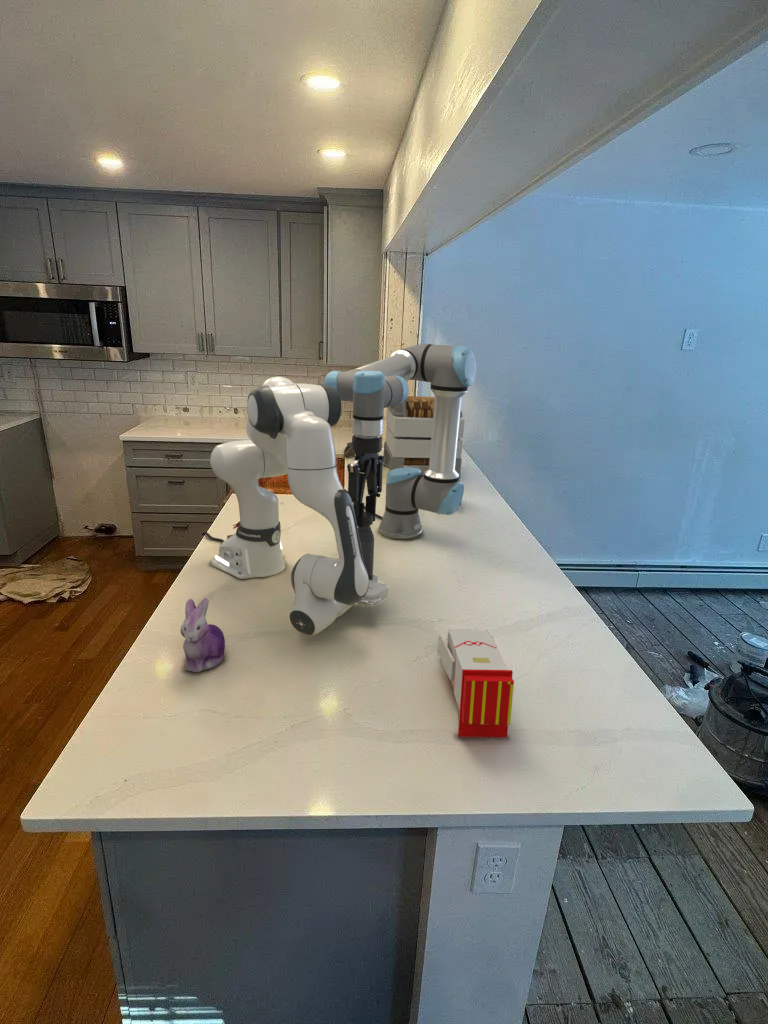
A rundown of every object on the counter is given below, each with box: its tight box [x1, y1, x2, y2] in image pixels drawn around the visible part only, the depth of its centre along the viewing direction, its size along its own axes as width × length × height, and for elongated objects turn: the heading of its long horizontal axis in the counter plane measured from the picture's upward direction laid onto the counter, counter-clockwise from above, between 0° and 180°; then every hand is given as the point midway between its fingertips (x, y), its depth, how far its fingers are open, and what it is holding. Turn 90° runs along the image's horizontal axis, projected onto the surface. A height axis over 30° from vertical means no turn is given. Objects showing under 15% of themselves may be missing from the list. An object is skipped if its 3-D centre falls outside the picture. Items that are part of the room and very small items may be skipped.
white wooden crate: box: [383, 395, 465, 482], centre depth 268 cm, size 34×33×41 cm
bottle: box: [357, 525, 375, 580], centre depth 152 cm, size 6×6×23 cm
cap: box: [364, 510, 374, 526], centre depth 148 cm, size 4×4×2 cm
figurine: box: [180, 597, 226, 673], centre depth 122 cm, size 9×10×15 cm
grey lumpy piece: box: [343, 441, 356, 459], centre depth 304 cm, size 22×10×15 cm
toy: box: [437, 628, 515, 738], centre depth 117 cm, size 12×13×30 cm
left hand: (364, 574), depth 154 cm, fingers closed on bottle, 5 cm apart
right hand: (364, 522), depth 148 cm, fingers open, 5 cm apart
